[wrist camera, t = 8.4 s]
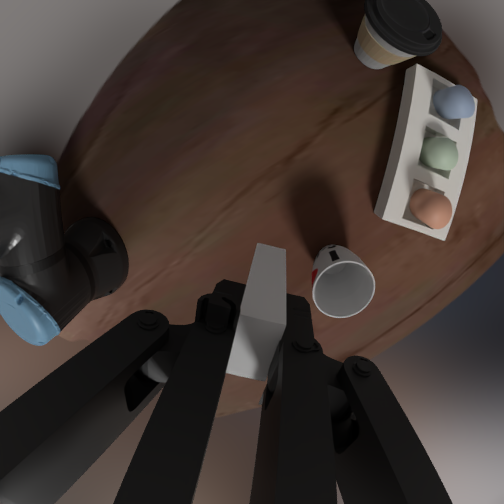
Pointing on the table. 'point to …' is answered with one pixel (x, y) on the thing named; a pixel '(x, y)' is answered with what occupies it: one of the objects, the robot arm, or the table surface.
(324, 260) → the cup
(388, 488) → the robot arm
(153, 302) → the table surface
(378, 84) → the table surface
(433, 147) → the sage cap
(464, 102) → the slate cap
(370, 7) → the coffee cup
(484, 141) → the table surface
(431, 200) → the terracotta cap
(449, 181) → the button board
